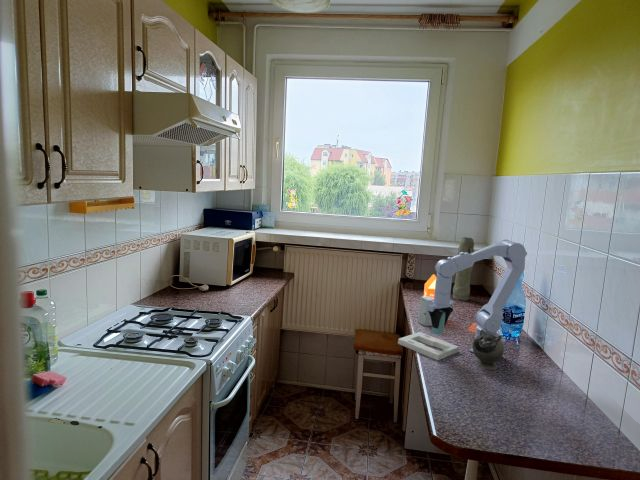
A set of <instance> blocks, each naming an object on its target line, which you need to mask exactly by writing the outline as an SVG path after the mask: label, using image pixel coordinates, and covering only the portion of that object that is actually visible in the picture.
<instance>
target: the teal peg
mask: <svg viewBox="0 0 640 480" xmlns="http://www.w3.org/2000/svg"><path fill="white" fill-rule="evenodd" d="M441 312H443V311H441ZM445 314H446V313H445V312H443V314H442V316H441V319H440V322H439V327H438V329H436V328H433V327H432V326H431V333H432V334H433V335H438V336H442V335H444V331H445V330H444V329H445V326H444V323H445Z"/></svg>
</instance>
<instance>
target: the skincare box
mask: <svg viewBox="0 0 640 480" xmlns="http://www.w3.org/2000/svg"><path fill="white" fill-rule="evenodd" d="M432 300H434V299H433V298H431V297H429V296H424V295H422V296H420V302H419V311H418V317H417V318H418V319H417V322H418V323H419V324H421V325H422V326H424V327H428V326H430V327H432V322H431V317H430V314H429V312H428V305H430V304H431V301H432Z"/></svg>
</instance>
